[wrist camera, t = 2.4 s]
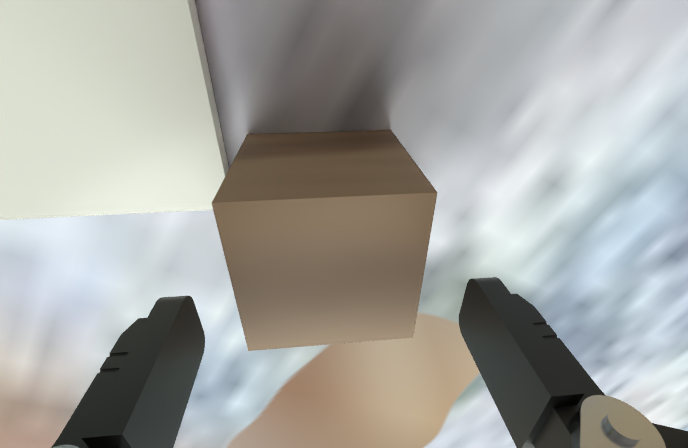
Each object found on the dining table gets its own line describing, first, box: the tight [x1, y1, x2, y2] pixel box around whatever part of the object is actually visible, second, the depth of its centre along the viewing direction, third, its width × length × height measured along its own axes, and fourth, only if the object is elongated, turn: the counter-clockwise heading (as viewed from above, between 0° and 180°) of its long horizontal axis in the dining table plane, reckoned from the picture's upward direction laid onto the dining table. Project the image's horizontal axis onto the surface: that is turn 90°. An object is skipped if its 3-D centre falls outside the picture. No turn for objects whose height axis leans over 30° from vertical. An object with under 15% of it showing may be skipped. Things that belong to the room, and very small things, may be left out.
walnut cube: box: [212, 130, 437, 351], centre depth 13 cm, size 6×6×6 cm
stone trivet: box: [0, 0, 229, 220], centre depth 11 cm, size 12×12×1 cm
